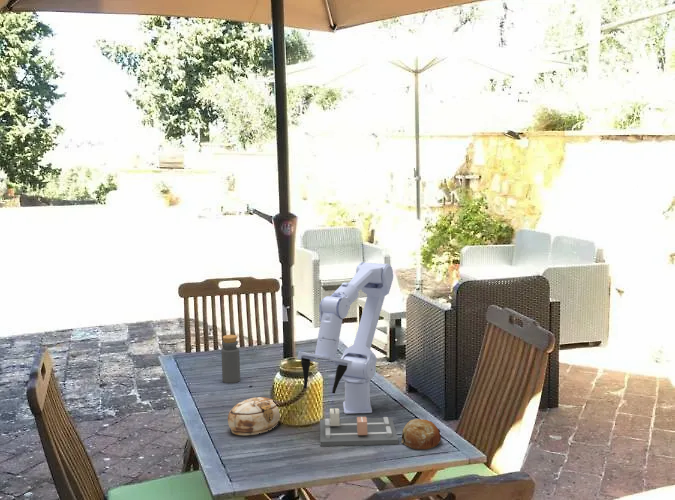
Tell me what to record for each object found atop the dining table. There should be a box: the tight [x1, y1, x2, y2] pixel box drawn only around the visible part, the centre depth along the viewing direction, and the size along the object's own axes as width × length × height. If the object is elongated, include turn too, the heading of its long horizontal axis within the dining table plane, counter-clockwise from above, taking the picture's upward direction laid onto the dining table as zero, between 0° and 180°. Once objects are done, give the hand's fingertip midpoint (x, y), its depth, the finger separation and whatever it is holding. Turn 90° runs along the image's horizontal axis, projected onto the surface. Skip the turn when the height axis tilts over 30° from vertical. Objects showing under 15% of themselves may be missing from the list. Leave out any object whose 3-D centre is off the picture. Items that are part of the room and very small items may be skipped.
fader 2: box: [356, 416, 367, 435], centre depth 201 cm, size 4×2×4 cm, turn 2°
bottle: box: [220, 334, 241, 384], centre depth 253 cm, size 6×6×15 cm
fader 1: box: [329, 407, 341, 426], centre depth 208 cm, size 4×2×4 cm, turn 2°
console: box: [319, 416, 399, 447], centre depth 205 cm, size 16×20×2 cm
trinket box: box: [227, 396, 281, 436], centre depth 211 cm, size 13×15×8 cm
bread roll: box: [401, 418, 442, 450], centre depth 199 cm, size 10×10×8 cm
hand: (319, 390), depth 204 cm, fingers open, 7 cm apart
